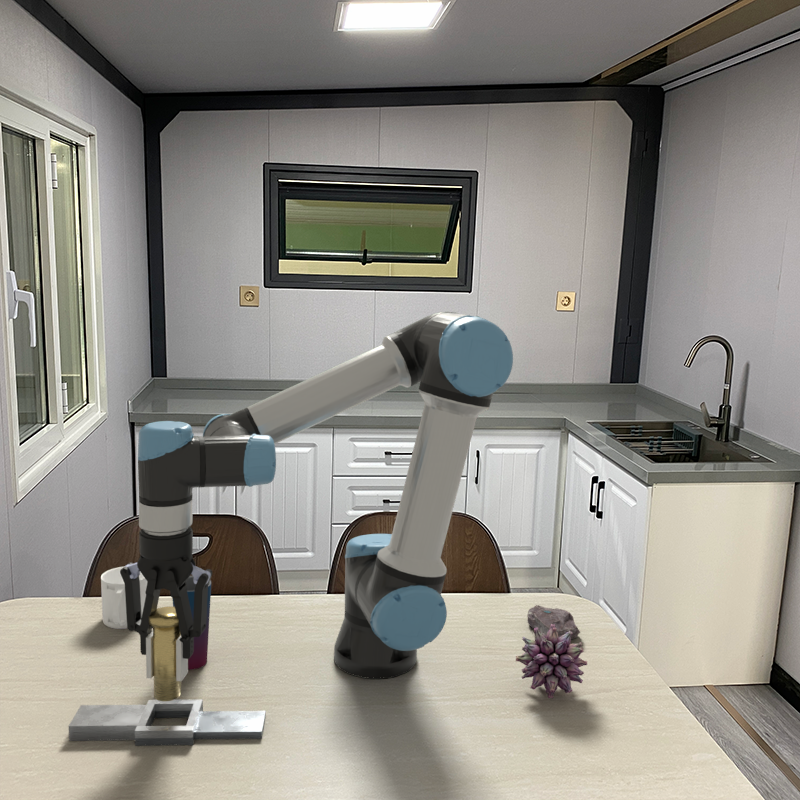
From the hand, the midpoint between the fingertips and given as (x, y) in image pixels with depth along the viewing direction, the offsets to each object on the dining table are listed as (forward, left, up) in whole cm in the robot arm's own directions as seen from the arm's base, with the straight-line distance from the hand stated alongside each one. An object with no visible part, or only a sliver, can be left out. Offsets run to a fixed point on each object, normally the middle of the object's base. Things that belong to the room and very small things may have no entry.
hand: (167, 674), depth 120 cm
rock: (-62, -43, -9) cm, 76 cm away
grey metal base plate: (0, 0, -9) cm, 9 cm away
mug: (+23, -33, -9) cm, 41 cm away
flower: (-59, -20, -9) cm, 63 cm away
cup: (+4, -20, -9) cm, 22 cm away
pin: (0, 0, -3) cm, 3 cm away
